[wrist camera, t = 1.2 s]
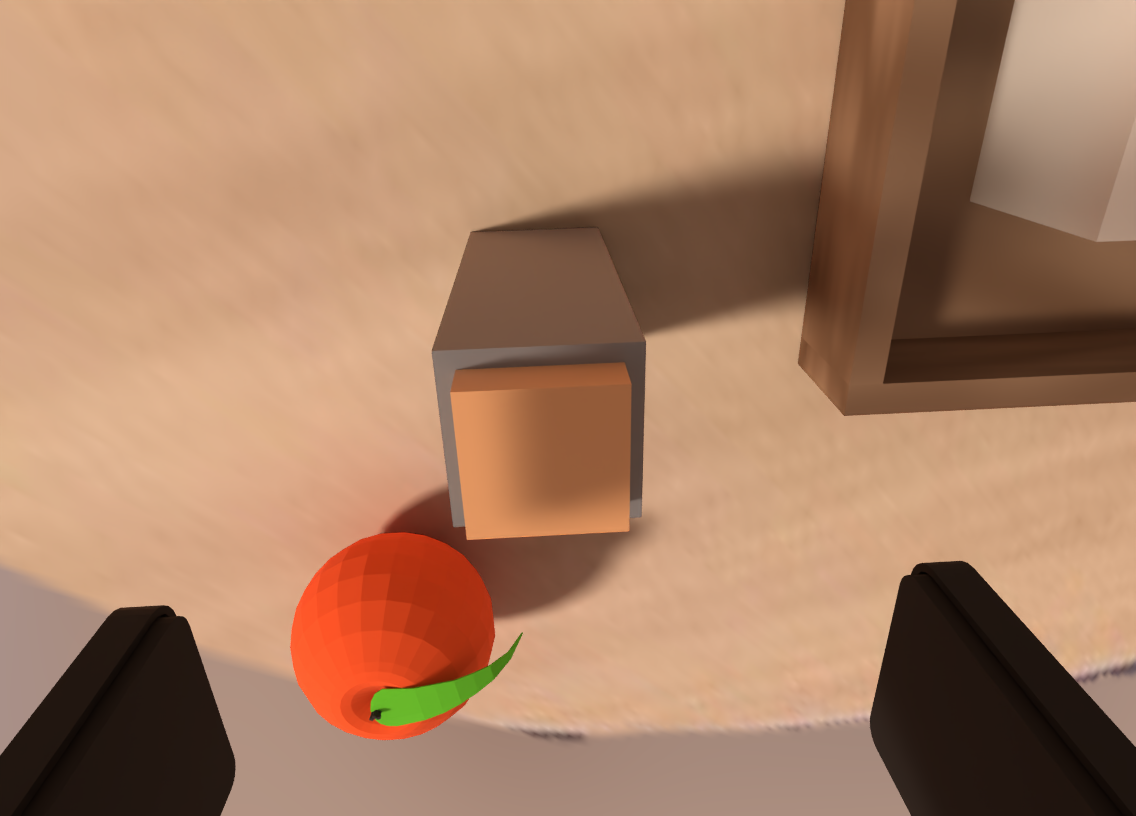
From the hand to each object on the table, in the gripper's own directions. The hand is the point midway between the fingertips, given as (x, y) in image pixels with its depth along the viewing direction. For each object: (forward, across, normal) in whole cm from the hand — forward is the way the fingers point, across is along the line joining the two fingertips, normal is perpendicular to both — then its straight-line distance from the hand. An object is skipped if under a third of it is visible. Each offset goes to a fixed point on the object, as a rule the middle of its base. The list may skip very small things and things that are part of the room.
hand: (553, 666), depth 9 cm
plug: (+15, 0, -1) cm, 15 cm away
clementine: (+16, +5, +10) cm, 19 cm away
